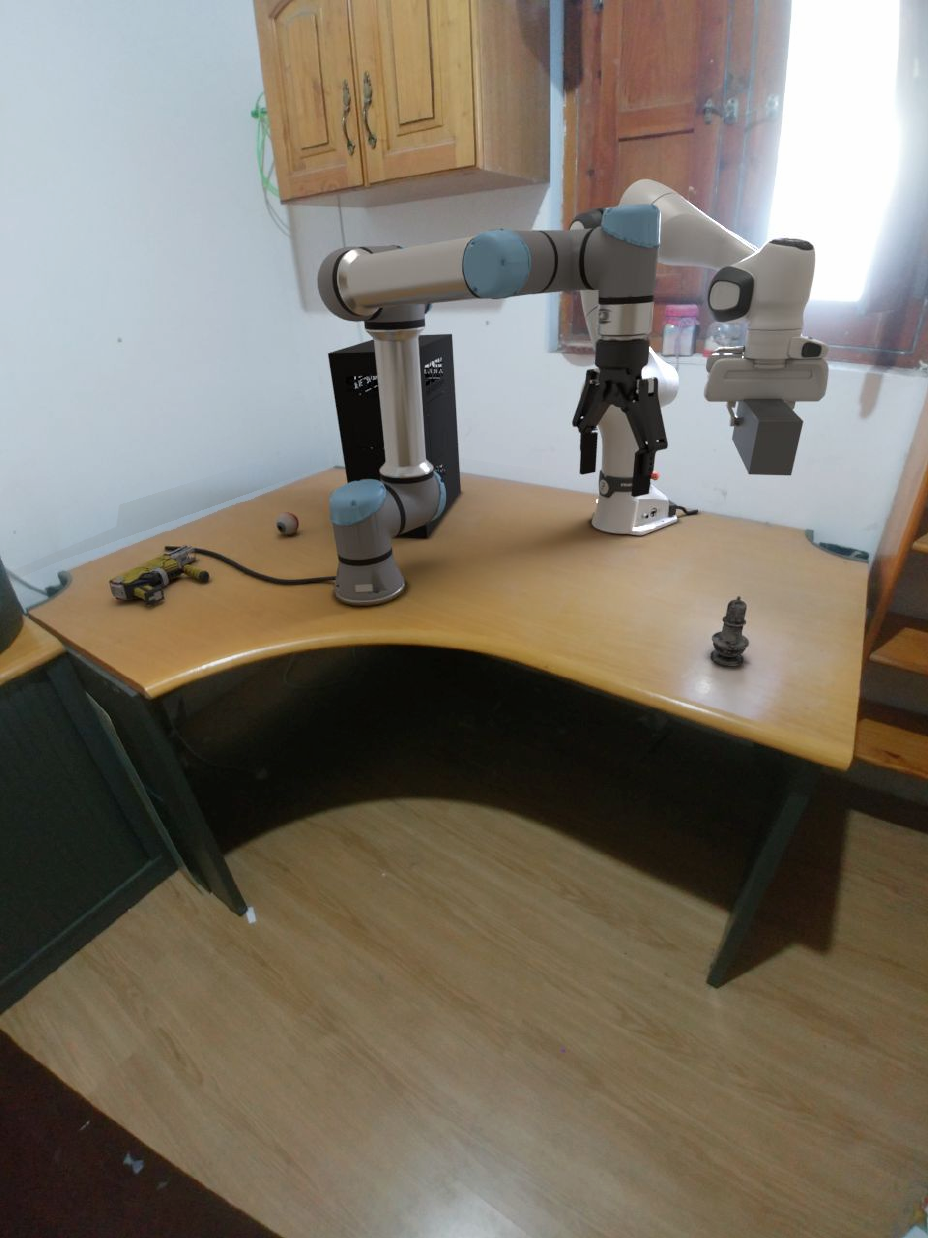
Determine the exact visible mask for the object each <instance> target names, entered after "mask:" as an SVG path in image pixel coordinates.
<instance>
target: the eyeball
mask: <svg viewBox="0 0 928 1238" xmlns="http://www.w3.org/2000/svg"><path fill="white" fill-rule="evenodd" d="M299 525H300V522H299V519H298V517H297V516H296V515H295V514H294V513H292V512H287V511H286V512H282V513H280V514H279V515H278V516H277V517H276V520H275V527H276V529H277V530H278V531H279V532H280V533H281V534H282V535H285V536H286V535H287V536H289V535H293V534H295V533H296V532H297V531H298V529H299Z"/></svg>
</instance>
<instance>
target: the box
mask: <svg viewBox="0 0 928 1238" xmlns="http://www.w3.org/2000/svg"><path fill="white" fill-rule="evenodd" d="M735 415H739V417H740V419H739V425H738V426H733V431H732V436H731V440H732V442H733V444H734V447H735V448H736V450H737V452H738V454H739V457H740V459H741V461H742V463H743V465H744V467H745V470H746V471H747V473H748V475H756V476H757V475H758V476H760V475H761V476H792V475H793V474H792V473H793V469H794V465H795V460H796V456H797V451H798V447H799V443H800V439H801V433H802V429H803V427H804V420H803V419H802V418H801V417H800V415H798V414H797V413H796V412H795V411H794V409H793V410H792V409H791V408H790V407H789V406H788V405H787V404H786V403H785V402H784V401H783V400H782V399H744V401H743V402H737V407H736V413H735Z"/></svg>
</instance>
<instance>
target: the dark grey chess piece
mask: <svg viewBox="0 0 928 1238" xmlns="http://www.w3.org/2000/svg"><path fill="white" fill-rule="evenodd" d="M741 599H742V597H741V595H738V596H736V599H732V600H730V601H729V602H728V603H727V607H726V613H725V615H724V616H723V617H722V622H723V624H722V630H720V631H717V632H715V633H713V634H712V635H711V641H712V645H713V648H714V649H713V650H712V651H711V652H710V658H711V660H712V661H713V662H715V663H717V664H719V665H721V666H725V667H738V666H740V665H742V664H743V663H744V656H743V655H742V654H743V653H744V652H745V651H746V649H747V648H748V647H749V646H750V640H749V639H748V638H747V637H746V636H745V635H743V629H744V626H745V625H747V620H746V619H745V618H746V614H747V607H748V606H747V603H746V602H745V601H743V600H741Z"/></svg>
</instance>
